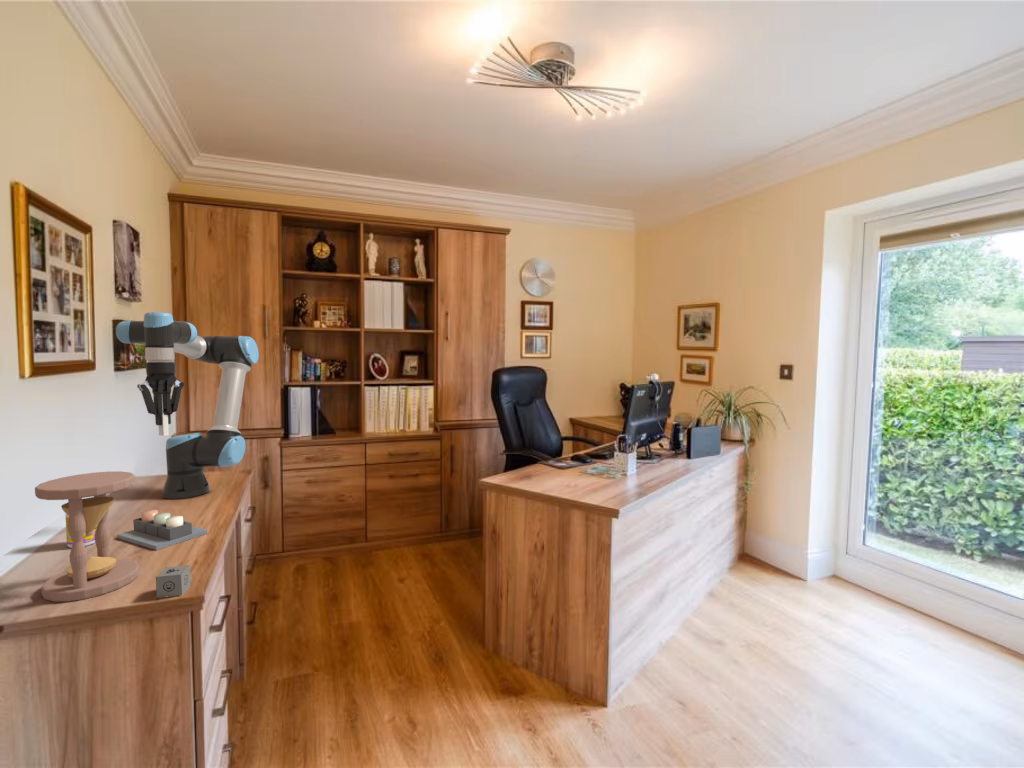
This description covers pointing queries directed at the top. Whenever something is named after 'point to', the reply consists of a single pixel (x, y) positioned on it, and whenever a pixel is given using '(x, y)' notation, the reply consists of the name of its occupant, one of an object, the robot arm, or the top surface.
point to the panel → (160, 534)
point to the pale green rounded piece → (160, 518)
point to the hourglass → (85, 515)
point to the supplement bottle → (86, 539)
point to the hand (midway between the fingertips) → (163, 435)
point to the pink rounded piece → (148, 515)
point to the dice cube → (173, 581)
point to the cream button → (174, 521)
